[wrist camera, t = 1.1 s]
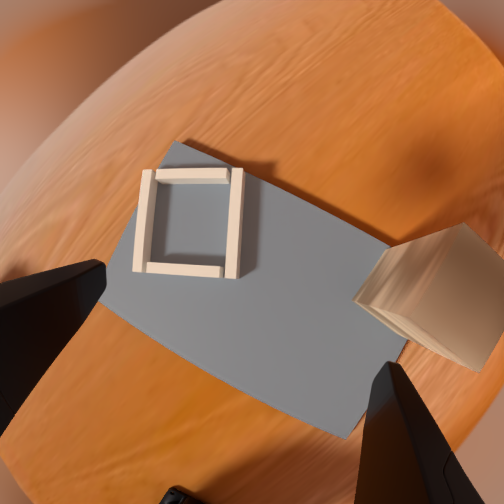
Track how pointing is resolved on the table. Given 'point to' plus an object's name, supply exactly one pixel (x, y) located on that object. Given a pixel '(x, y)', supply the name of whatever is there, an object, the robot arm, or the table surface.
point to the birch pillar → (440, 294)
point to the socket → (148, 209)
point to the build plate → (259, 296)
